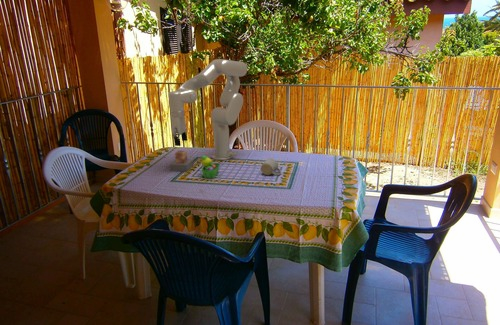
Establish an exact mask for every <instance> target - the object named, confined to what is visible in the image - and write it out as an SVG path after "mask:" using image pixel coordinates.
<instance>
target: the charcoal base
mask: <svg viewBox="0 0 500 325" xmlns="http://www.w3.org/2000/svg"><path fill="white" fill-rule="evenodd" d="M169 166H170V171H171V172H181V173H182V172H183V173H185V172H186V173H187V172H189V171H191V169H193V167H194V159H188V158H187V161H186V162H185V163H176V159H175V160H174V161H172V162H171V163H170V164H169Z"/></svg>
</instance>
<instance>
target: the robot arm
mask: <svg viewBox="0 0 500 325" xmlns="http://www.w3.org/2000/svg"><path fill="white" fill-rule="evenodd" d="M247 73H248V65H247V64H246V63H245V62H243V61H238V60H230V59H224V58H223V59H222V58H221V59H219V58H216V59H214V60H212V61H211V62H210V63H209V64H207V65H206V67H204V68H203V70H202V71H200V72H199V73H198V74H196V75H195V76H193V77H191V78H190V79H188V80H186V81H184V83H182V84H181V85H180V86H179V87H178V88H177V90H174V91H173V90H172V91H170V92H168V102H169V103H168V104H169V109H170V117H171V119H170V120H171V121H170V122H171V126H170V127H171V135H172V136H173V137H172V138H173V141H174V146H175V147H180V146H182V144H181V141H184V142H188V135H187V134H188V133H187V132H188V131H187V130H188V129H187V127H188V126H187V123H186V117H185V116H186V115H185V107H184V104H193V103H195V102H196V101H197V99H198V93H197V92H196V91H197V90H199V89H202V88H207V87H208V86H210V85H212V83H213V82H214V81H215V80H216V79H217V78H218V77H219V76H221V75H223V76H225V77H226V83H225V86H224V88H223V89H222V90H223V91H222V93H221V94H220V95H221V96H220V97H219V104H220V106H221V107H220V106H216V107H214V108H213V109H212V110H211V113H210V117H211V118H210V119H211V124H212V129H213V145H214V154H212V160H213V159H214V160H217V161H226V160H230V159H232V158H233V156H235V157H236V156H237V152H236V151H232V149H231V148H230V147H231V146H230V128H229V126H232V125H234V124H235V123H236V121H237V120H238V117H239V114H240V112H241V111H242V107H243V105H244V97H243V95H242V94H241V93H240V92H239V91H240V90H239V89H240V87H241V81H240V77H244V76H246V75H247ZM180 136H181V139H180Z"/></svg>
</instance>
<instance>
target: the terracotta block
mask: <svg viewBox="0 0 500 325" xmlns="http://www.w3.org/2000/svg"><path fill="white" fill-rule="evenodd" d="M174 156H175V160H176V163H185V162H186V161H187V159H188V153H187V150H177V151H176V152H175V153H174Z"/></svg>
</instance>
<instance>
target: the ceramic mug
mask: <svg viewBox="0 0 500 325" xmlns="http://www.w3.org/2000/svg"><path fill="white" fill-rule="evenodd" d="M260 171H261V172H262V174H263V175H266V176H270V175H275V176H280V175H281V174H282V170H281V169H280V168H279V163H278V161H277V160H276V159H274V158H272V157H271V158H270V157H269V158H267V159H266V160H265V161H264V162H263V163H262V164H261V166H260ZM276 171H277V172H276Z"/></svg>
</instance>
